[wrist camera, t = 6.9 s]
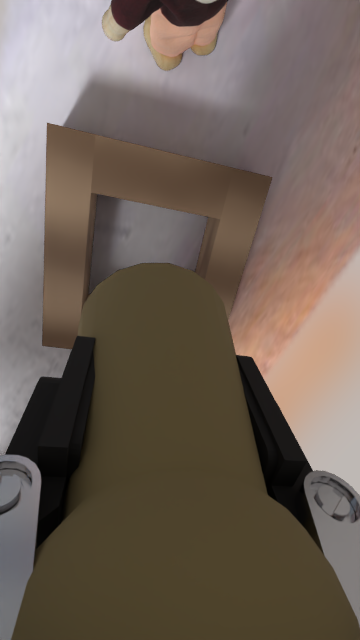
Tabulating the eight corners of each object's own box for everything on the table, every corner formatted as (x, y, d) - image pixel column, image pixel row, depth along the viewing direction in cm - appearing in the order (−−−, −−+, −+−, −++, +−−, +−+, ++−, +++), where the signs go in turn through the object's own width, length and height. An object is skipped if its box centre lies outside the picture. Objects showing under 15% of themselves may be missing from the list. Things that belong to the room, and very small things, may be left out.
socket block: (205, 342, 28) (214, 365, 25) (54, 323, 26) (42, 345, 23) (254, 173, 22) (272, 177, 19) (61, 127, 20) (47, 122, 17)
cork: (224, 250, 11) (661, 777, 2) (231, 380, 14) (413, 847, 5) (58, 275, 11) (-444, 1020, 2) (99, 401, 14) (6, 938, 5)
